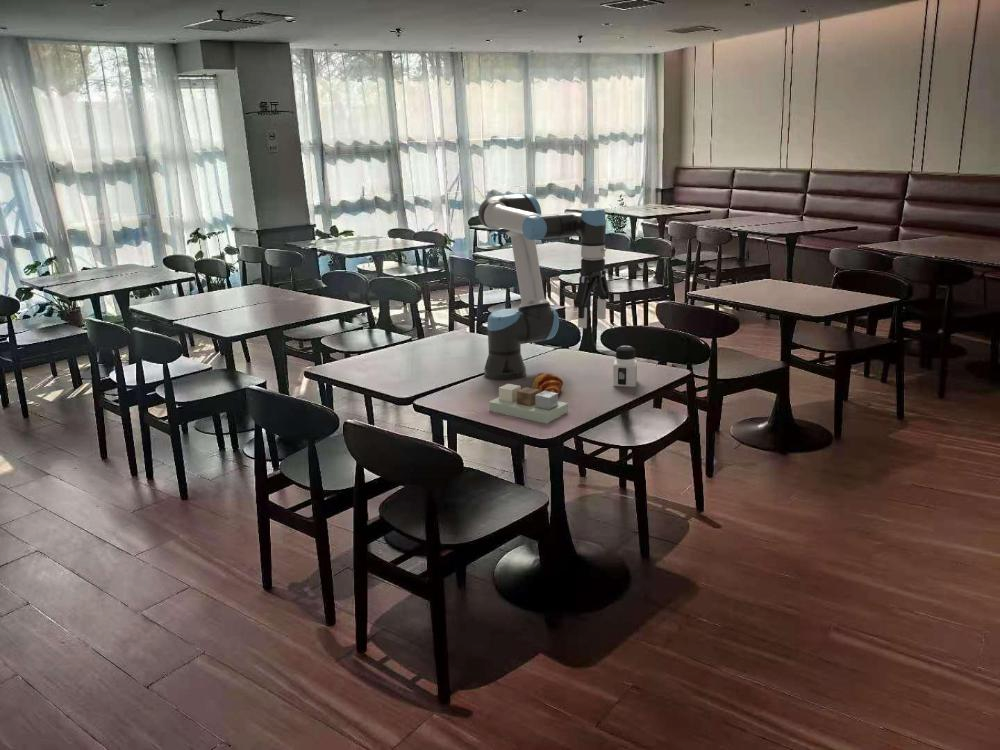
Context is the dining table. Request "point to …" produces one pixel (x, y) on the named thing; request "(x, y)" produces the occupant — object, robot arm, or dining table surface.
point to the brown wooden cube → (527, 396)
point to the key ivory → (508, 392)
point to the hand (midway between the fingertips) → (592, 323)
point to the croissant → (547, 383)
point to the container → (625, 367)
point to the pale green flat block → (528, 410)
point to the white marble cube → (546, 400)
